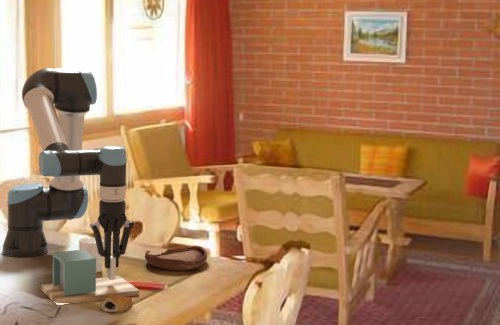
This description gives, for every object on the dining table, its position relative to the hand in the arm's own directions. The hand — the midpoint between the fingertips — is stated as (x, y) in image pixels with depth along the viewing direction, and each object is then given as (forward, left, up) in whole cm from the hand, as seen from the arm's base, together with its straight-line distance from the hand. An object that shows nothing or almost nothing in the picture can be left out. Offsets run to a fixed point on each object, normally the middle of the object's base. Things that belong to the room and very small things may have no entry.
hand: (111, 278), depth 226 cm
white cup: (-22, +1, -4) cm, 22 cm away
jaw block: (0, -12, -2) cm, 12 cm away
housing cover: (0, -11, -2) cm, 11 cm away
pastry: (+16, -4, -4) cm, 17 cm away
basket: (-19, +30, -4) cm, 36 cm away
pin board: (0, -7, -4) cm, 7 cm away
